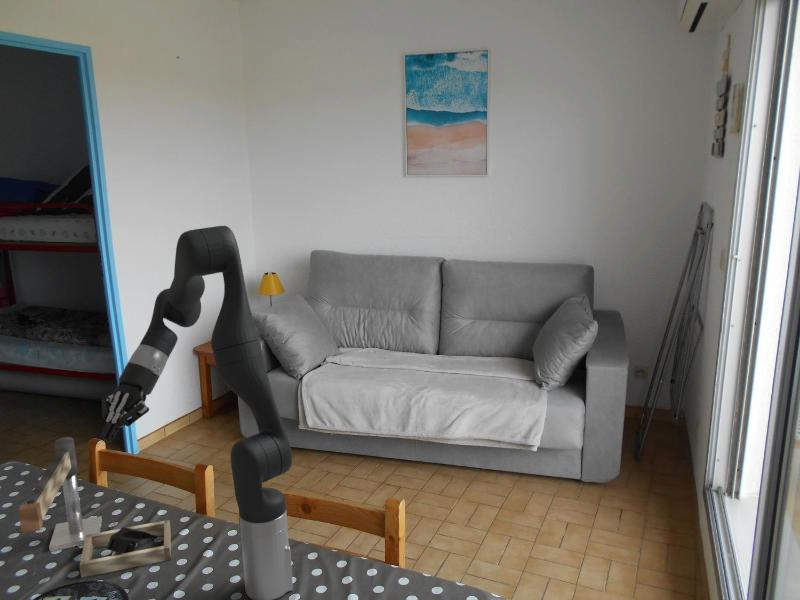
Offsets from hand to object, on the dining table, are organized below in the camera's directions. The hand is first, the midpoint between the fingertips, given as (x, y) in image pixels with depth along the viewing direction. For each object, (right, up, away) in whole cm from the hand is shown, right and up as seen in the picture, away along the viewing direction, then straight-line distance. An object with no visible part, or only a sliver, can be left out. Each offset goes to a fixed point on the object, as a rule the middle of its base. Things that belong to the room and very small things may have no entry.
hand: (104, 441), depth 139 cm
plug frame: (+2, -27, +8) cm, 28 cm away
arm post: (-13, -26, +15) cm, 33 cm away
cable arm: (-11, -13, 0) cm, 16 cm away
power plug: (+3, -27, +8) cm, 28 cm away
